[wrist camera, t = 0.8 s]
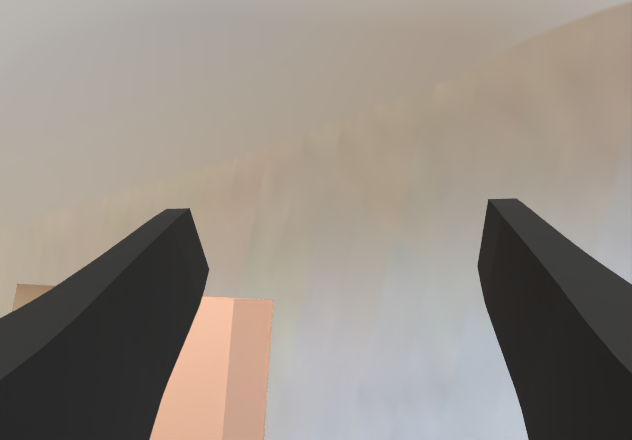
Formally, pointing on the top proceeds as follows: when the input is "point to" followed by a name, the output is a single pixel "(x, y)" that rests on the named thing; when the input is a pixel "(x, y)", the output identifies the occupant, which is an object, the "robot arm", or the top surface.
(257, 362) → the block
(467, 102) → the top surface
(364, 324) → the top surface
